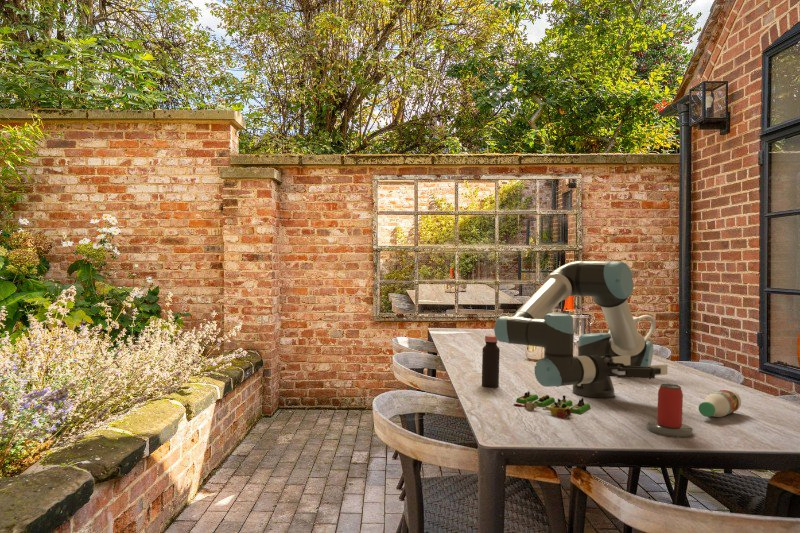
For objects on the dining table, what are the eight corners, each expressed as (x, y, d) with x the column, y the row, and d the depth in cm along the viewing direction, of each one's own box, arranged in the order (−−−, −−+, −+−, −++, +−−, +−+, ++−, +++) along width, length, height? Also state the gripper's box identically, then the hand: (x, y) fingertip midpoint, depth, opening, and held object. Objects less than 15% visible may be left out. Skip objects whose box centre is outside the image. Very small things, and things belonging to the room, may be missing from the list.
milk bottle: (730, 416, 183) (706, 426, 171) (711, 398, 188) (687, 407, 175) (747, 402, 179) (724, 412, 167) (728, 384, 184) (704, 392, 171)
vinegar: (498, 384, 218) (499, 335, 218) (499, 388, 211) (500, 337, 211) (481, 383, 218) (482, 334, 218) (482, 387, 212) (483, 336, 212)
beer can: (660, 421, 163) (661, 382, 163) (684, 425, 159) (685, 385, 159) (654, 425, 158) (655, 385, 158) (678, 430, 154) (680, 389, 154)
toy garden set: (590, 409, 184) (590, 396, 184) (570, 421, 168) (571, 407, 168) (527, 398, 198) (528, 385, 198) (504, 408, 182) (504, 395, 182)
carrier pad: (649, 434, 155) (649, 429, 155) (645, 423, 166) (645, 418, 166) (696, 439, 151) (696, 434, 151) (688, 427, 162) (688, 423, 162)
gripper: (559, 373, 159) (615, 368, 167) (620, 394, 136) (683, 387, 143) (559, 348, 159) (616, 345, 167) (621, 364, 136) (683, 359, 143)
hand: (647, 364), depth 155 cm, fingers open, 13 cm apart
